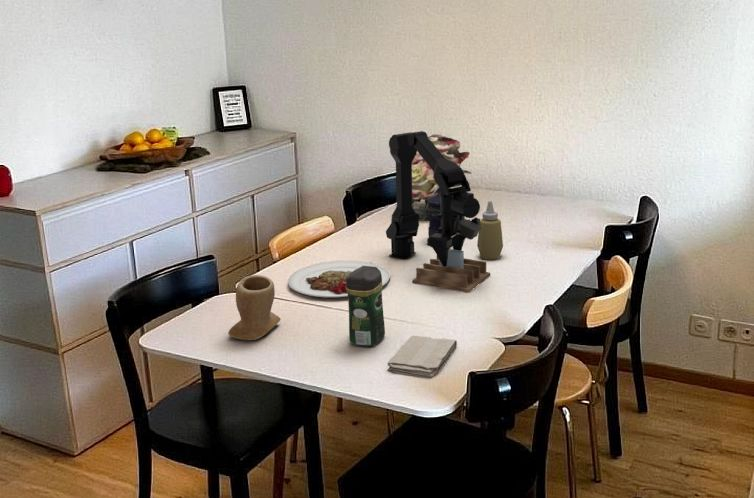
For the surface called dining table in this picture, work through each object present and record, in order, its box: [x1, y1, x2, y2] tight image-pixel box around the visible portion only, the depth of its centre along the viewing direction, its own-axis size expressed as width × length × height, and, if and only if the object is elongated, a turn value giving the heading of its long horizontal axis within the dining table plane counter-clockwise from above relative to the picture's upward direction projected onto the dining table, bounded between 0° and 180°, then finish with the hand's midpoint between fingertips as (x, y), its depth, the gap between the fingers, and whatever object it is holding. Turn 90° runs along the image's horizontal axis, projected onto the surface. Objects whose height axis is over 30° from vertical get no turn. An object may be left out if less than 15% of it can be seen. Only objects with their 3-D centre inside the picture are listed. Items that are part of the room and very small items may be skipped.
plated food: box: [287, 260, 391, 298], centre depth 248 cm, size 30×30×3 cm
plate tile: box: [439, 248, 465, 269], centre depth 245 cm, size 7×2×8 cm, turn 59°
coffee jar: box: [346, 266, 386, 348], centre depth 206 cm, size 10×8×19 cm
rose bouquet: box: [412, 133, 472, 222], centre depth 308 cm, size 26×29×30 cm
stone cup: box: [227, 274, 281, 341], centre depth 215 cm, size 15×12×15 cm
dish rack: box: [411, 255, 491, 293], centre depth 246 cm, size 18×15×4 cm
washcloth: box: [387, 335, 458, 378], centre depth 198 cm, size 12×18×3 cm, turn 158°
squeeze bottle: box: [476, 200, 504, 260], centre depth 262 cm, size 8×8×18 cm
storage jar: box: [427, 196, 452, 245], centre depth 278 cm, size 10×10×15 cm
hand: (451, 261), depth 245 cm, fingers open, 8 cm apart
